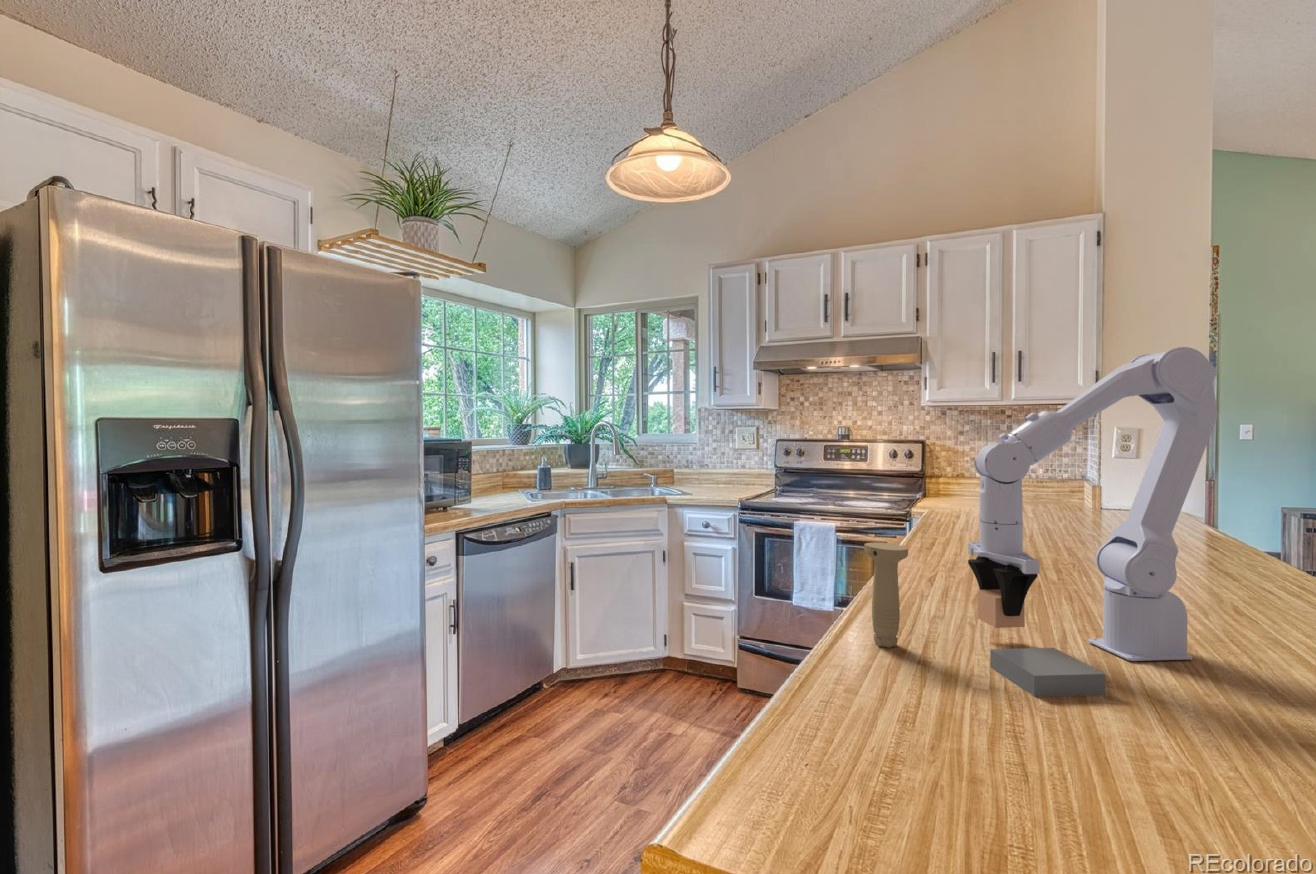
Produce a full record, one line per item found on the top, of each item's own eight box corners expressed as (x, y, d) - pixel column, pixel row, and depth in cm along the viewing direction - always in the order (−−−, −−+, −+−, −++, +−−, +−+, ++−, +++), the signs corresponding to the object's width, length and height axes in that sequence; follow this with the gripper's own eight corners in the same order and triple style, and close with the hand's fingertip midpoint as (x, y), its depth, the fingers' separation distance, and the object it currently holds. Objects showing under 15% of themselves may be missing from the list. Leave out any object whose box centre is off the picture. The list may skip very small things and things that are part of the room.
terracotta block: (1005, 617, 95) (1005, 589, 95) (1024, 627, 91) (1024, 597, 91) (978, 618, 95) (977, 590, 95) (995, 628, 91) (995, 598, 91)
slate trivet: (1053, 669, 84) (1053, 647, 84) (1105, 698, 75) (1105, 673, 75) (990, 670, 83) (990, 649, 83) (1034, 700, 74) (1034, 675, 74)
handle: (892, 654, 88) (892, 551, 88) (857, 641, 94) (858, 544, 94) (914, 648, 91) (914, 548, 90) (879, 635, 96) (879, 541, 96)
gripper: (950, 515, 100) (950, 598, 100) (1005, 530, 85) (1005, 626, 86) (991, 514, 100) (992, 596, 101) (1053, 529, 86) (1054, 624, 86)
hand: (1001, 610), depth 93 cm, fingers closed on terracotta block, 4 cm apart
